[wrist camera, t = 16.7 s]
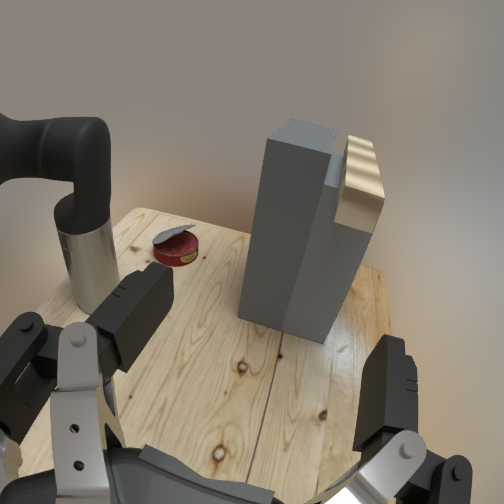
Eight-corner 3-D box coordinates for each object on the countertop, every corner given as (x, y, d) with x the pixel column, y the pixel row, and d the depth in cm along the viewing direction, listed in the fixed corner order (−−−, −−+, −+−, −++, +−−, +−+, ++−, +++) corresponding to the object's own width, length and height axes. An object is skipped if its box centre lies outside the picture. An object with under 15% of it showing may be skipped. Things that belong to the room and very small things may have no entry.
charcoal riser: (323, 343, 53) (394, 174, 34) (237, 317, 55) (267, 138, 36) (332, 287, 65) (382, 144, 46) (261, 266, 68) (290, 118, 49)
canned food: (164, 282, 66) (140, 253, 59) (163, 250, 73) (142, 222, 66) (211, 263, 65) (190, 231, 58) (206, 232, 72) (187, 201, 65)
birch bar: (371, 233, 29) (385, 198, 27) (333, 222, 30) (345, 185, 28) (365, 163, 48) (371, 141, 46) (342, 156, 49) (348, 134, 46)
